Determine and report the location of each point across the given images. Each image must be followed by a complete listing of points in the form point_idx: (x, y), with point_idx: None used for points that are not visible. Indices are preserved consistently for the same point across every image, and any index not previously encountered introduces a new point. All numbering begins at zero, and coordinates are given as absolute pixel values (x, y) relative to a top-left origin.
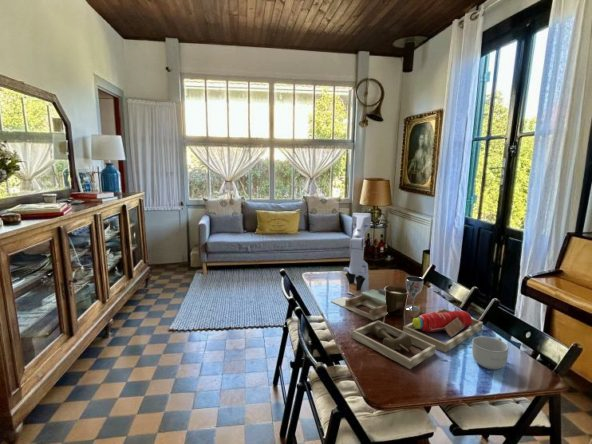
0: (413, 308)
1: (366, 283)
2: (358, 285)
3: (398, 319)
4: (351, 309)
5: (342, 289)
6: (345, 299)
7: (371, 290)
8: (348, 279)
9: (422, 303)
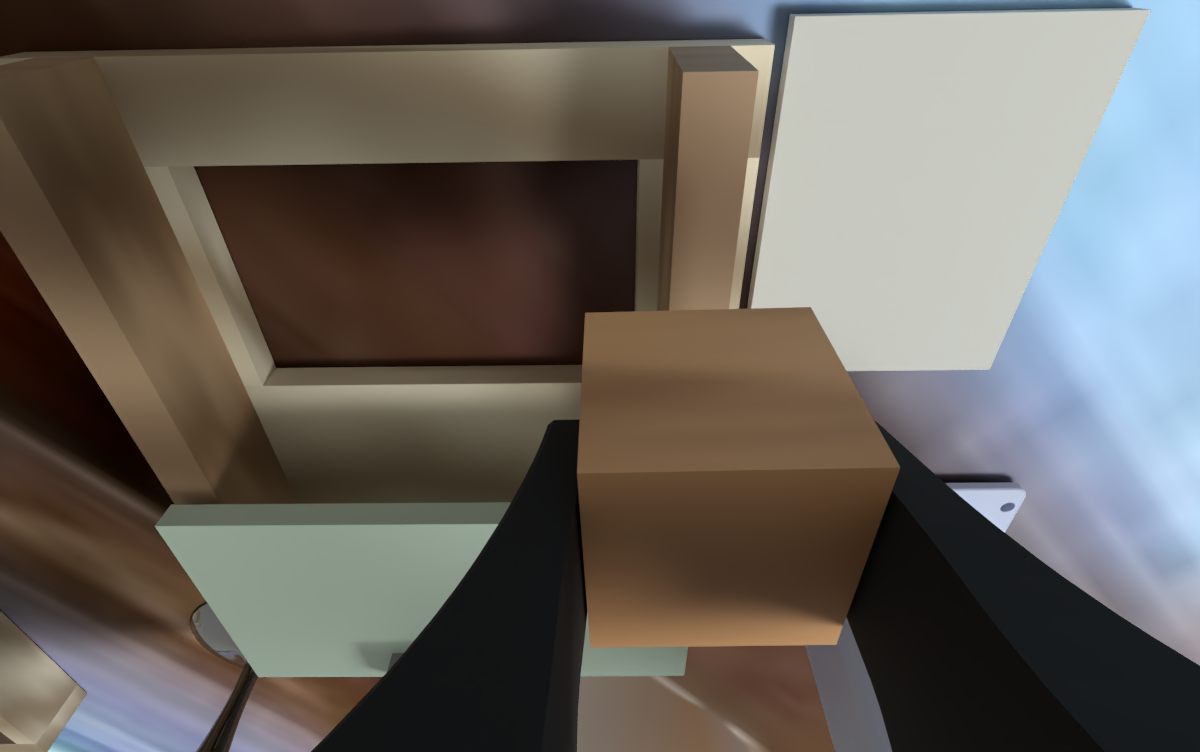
0: (228, 638)
1: (844, 730)
2: (485, 549)
3: (21, 385)
4: (552, 45)
5: (1134, 511)
6: (915, 298)
7: (657, 647)
8: (1082, 632)
9: (329, 725)
